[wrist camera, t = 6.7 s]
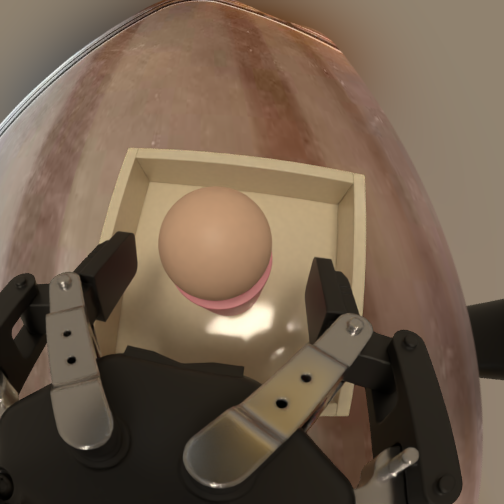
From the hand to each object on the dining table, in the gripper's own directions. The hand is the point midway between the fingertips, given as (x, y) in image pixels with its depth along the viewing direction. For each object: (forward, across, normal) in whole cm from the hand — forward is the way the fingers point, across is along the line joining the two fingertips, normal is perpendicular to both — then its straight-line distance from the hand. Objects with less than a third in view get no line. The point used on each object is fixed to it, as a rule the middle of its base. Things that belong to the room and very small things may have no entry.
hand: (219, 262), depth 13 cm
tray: (+5, 0, +5) cm, 7 cm away
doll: (+5, 0, +4) cm, 6 cm away
